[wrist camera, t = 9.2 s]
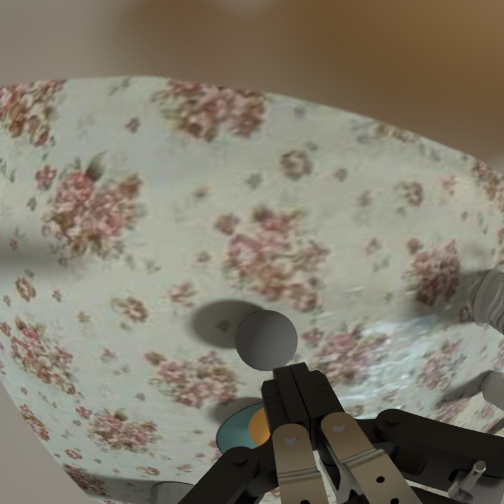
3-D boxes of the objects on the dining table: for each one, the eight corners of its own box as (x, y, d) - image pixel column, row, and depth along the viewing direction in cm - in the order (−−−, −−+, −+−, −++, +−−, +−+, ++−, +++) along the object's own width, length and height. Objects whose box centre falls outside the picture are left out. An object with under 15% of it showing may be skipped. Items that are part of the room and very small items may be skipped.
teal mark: (277, 473, 37) (278, 474, 37) (196, 447, 34) (196, 448, 33) (345, 419, 35) (345, 420, 35) (265, 383, 32) (265, 384, 31)
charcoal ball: (260, 304, 24) (251, 295, 29) (225, 362, 24) (222, 343, 29) (317, 335, 25) (299, 321, 30) (282, 390, 24) (270, 368, 30)
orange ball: (268, 398, 29) (265, 394, 34) (237, 439, 27) (238, 429, 32) (311, 424, 28) (302, 417, 33) (281, 464, 26) (276, 452, 31)
